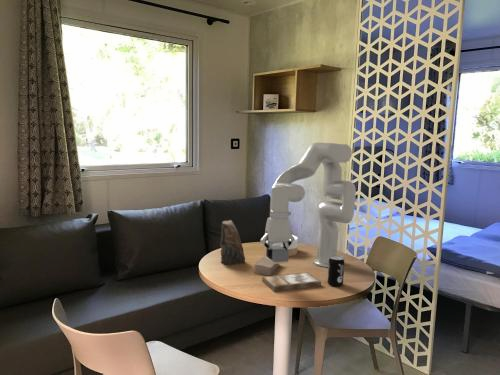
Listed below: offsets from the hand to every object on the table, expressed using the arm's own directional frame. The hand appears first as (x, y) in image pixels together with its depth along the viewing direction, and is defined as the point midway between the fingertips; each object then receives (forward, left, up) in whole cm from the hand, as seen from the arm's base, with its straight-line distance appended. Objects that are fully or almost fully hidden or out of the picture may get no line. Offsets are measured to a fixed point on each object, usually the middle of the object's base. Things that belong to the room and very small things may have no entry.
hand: (276, 257), depth 164 cm
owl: (+8, -35, -13) cm, 38 cm away
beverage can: (-25, +6, -13) cm, 29 cm away
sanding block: (0, 0, -1) cm, 1 cm away
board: (-7, 0, -12) cm, 14 cm away
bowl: (-24, -45, -13) cm, 53 cm away
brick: (-5, -21, -13) cm, 25 cm away
